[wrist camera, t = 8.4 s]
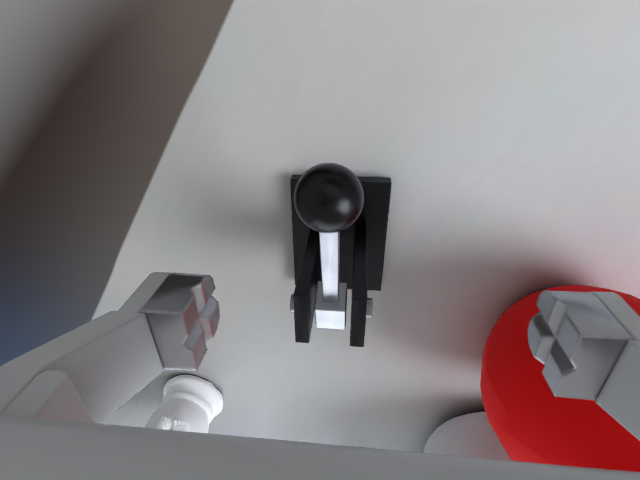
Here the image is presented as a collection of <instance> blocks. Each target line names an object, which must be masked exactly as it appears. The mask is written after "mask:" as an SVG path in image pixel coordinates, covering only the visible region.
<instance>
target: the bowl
mask: <svg viewBox="0 0 640 480" xmlns="http://www.w3.org/2000/svg"><path fill="white" fill-rule="evenodd" d="M422 453H431V454H442V455H453V456H465V457H476V458H487V459H498V460H509V461H513V460H512V459H511V458H510V457H509V455H508V454H507V452H506V450H505V449H504V447H503V445H502V444H501V442H500V440H499V438H498V437H497V435H496V433H495V432H494V430H493V428H492V426H491V425H490V423H489V421H488V419H487V415H486V412H476V413H469V414H465V415H461V416H458V417H455V418H453V419H450V420H448V421H446V422H445V423H443V424H442V425H440V426H439V427H438V428H437V429H436V430H435V431H434V432H433V433H432V434H431V435H430V437H429V439H428V441H427V443H426V445H425V446H424V449H423V452H422Z"/></svg>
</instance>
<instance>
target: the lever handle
mask: <svg viewBox="0 0 640 480" xmlns="http://www.w3.org/2000/svg"><path fill="white" fill-rule="evenodd" d="M363 203H364V193H363V189H362V185H361V183H360V181H359V179H358V178H357V177H356V175H355V174H354V173H353V172H352V171H351V170H349V169H348V168H346V167H344V166H342V165H339V164H335V163H322V164H319V165H316V166H314V167H312V168H310V169H309V170H307V171H306V172H305V173H304V174H303V175H302V176H301V178H300V179H299V181H298V183H297V185H296V188H295V191H294V205H295V209H296V212H297V214H298V216H299V218H300V219H301V220H302V221H303V223H304V224H305V225H307V226H308V227H309V228H311V229H313V230H315V231H317V232H319V241H320V258H321V275H322V281H318V282H317V291H316V299H315V308H314V310H315V321H316V327H317V328H331V329H345V324H346V305H347V283H340V282H339V253H340V231H343V230H345V229H347V228H348V227H350V226H351V225H352V224H353V223H354V222H355V221H356V220H357V218H358V217H359V215H360V213H361V211H362V208H363Z"/></svg>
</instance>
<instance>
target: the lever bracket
mask: <svg viewBox="0 0 640 480" xmlns="http://www.w3.org/2000/svg"><path fill="white" fill-rule="evenodd" d="M301 176H302V175H292V177H291V180H290V181H291V202H292V224H293V246H294V268H295V285H296V287H295V291H294V294H292V295H291V301H290V311H291V312H292V313H294V319H295V339H296V342H302V343H309V339H310V334H311V328H312V322H313V316H314V308H315V299H316V291H317V282H318V281H322V275H321V258H320V241H319V232H317V231H315V230H313V229H311V228H309V227H308V226H307V225H305V224H304V223H303V221H302V220H301V219H300V218H299V216H298V214H297V212H296V209H295V205H294V191H295V188H296V185H297V183H298V181H299V179H300V178H301ZM357 178H358V179H359V181H360V183H361V185H362V189H363V193H364V203H363V208H362V211H361V213H360V215H359V217H358V218H357V220H356V221H355V222H354V223H353V224H352V225H351V226H350V227H348V228H347V229H345V230H343V231H340V253H339V282H340V283H347V289H352V305H351V330H350V346H356V347H364V336H365V323H366V317H368V318H372V311H373V299H372V298H367V290H377V291H380V290H381V282H382V272H383V262H384V252H385V242H386V232H387V222H388V212H389V202H390V193H391V178H373V177H357Z"/></svg>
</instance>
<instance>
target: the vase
mask: <svg viewBox="0 0 640 480" xmlns="http://www.w3.org/2000/svg"><path fill="white" fill-rule="evenodd" d="M542 291H568V292H614V293H616V294H618V295H620V296H621V297H622V298H623V299H624V300H625V301H626V303H627V304H628V305H629V306H630V307H631V308H632V309H633V310H634V311H635V312H636V313H637V314H638V315H639V316H640V299H638V298H636V297H634V296H632V295H629V294H625V293H621V292H617V291H613V290H610V289H604V288H598V287H592V286H580V285H565V286H559V287H552V288H547V289H544V290H541V291H538V292H535V293H533V294H530V295H528V296H526V297H525V298H523V299H521V300H519V301H517V302H516V303H514V304H513V305H512V306H511V307H510V308H508V309H507V310H506V311H505V312H504V313H503V314H502V315H501V316H500V318H499V319H498V321H497V322H496V324H495V325H494V327H493V329H492V331H491V333H490V335H489V337H488V339H487V342H486V345H485V349H484V352H483V359H482V371H481V384H480V385H481V394H482V401H483V405H484V408H485V412H486V415H487V419H488V421H489V423H490V425H491V426H492V428H493V430H494V432H495V433H496V435H497V437H498V438H499V440H500V442H501V444H502V445H503V447H504V449H505V450H506V452H507V454H508V455H509V457H510V458H511V459H512V460H513V461H520V462H532V463H543V464H554V465H565V466H576V467H588V468H599V469H610V470H621V471H632V472H640V441H639V440H638V439H637V438H636V437H635V436H633V435H632V434H631V433H630V432H629V431H628V430H627V429H625V428H624V427H623V426H622V425H621V424H620V423H618V422H617V421H616V420H615V419H614V418H613V417H612V416H610V415H609V414H608V413H607V412H606V411H605V410H603V409H602V408H601V407H600V406H599V405H598V404H597V403H595V402H596V401H594V400H584V399H574V398H564V397H554V395H553V393H552V391H551V389H550V387H549V385H548V383H547V381H546V379H545V377H544V375H543V373H542V371H543V368H544V366H545V365H544V364H543V363H541V362H540V361H539V360H537V359H536V358H535V357H534V356H533V354H532V352H531V350H530V346H529V343H528V326H529V323H530V319H531V318H532V317H533V316H535V315H536V314H537V313H539V312H540V310H539V309H538V307H537V305H536V302H537V299H538V297H539V295H540V294H541V292H542Z"/></svg>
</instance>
